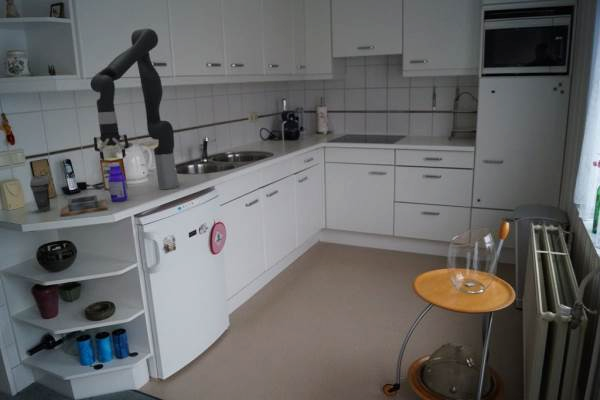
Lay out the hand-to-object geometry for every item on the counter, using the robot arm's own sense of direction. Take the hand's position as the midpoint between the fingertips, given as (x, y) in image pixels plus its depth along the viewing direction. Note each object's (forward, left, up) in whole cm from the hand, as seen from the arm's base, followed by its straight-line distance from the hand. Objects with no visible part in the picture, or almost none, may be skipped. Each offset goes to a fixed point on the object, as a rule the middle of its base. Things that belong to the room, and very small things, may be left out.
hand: (113, 159), depth 214 cm
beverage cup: (+31, -2, -19) cm, 37 cm away
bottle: (0, 0, -19) cm, 19 cm away
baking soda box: (0, -28, -19) cm, 34 cm away
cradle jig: (+15, +7, -19) cm, 25 cm away
